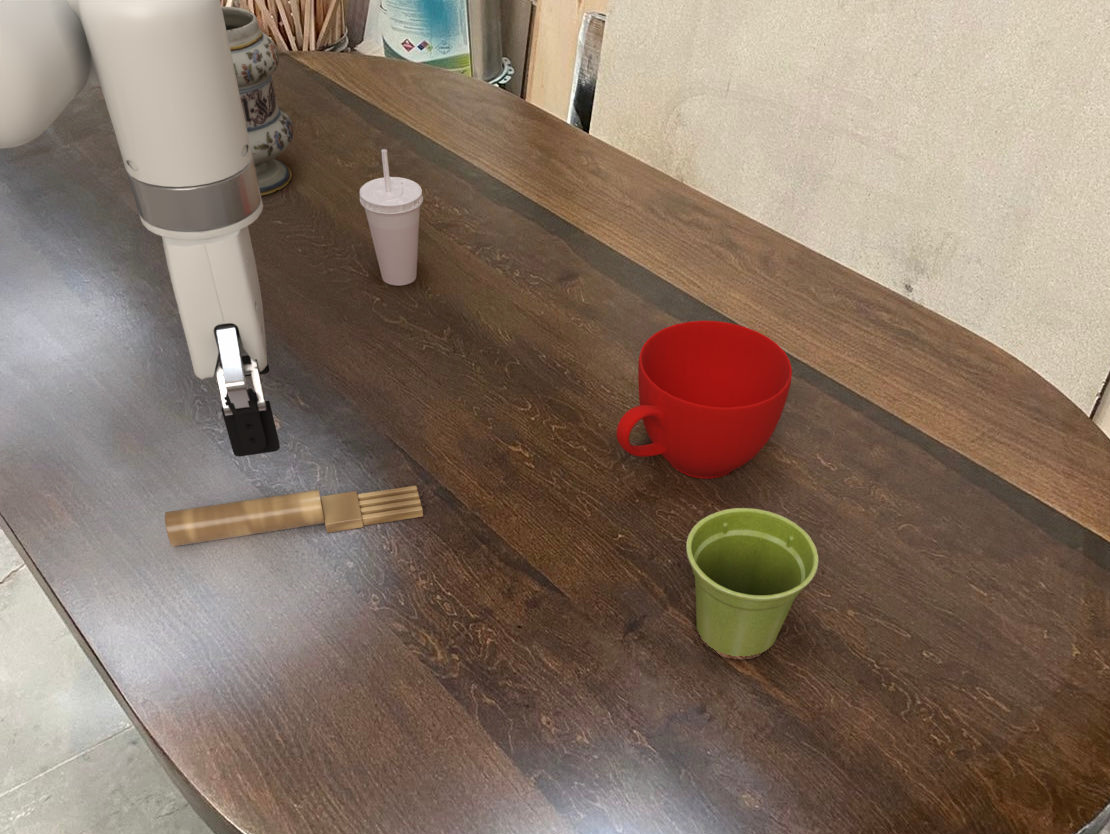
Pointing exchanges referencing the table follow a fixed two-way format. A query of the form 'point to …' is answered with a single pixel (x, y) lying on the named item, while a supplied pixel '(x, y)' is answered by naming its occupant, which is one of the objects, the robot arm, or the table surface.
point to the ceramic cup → (707, 396)
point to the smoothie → (393, 224)
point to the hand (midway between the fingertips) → (252, 411)
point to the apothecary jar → (259, 97)
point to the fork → (291, 514)
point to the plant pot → (747, 576)
